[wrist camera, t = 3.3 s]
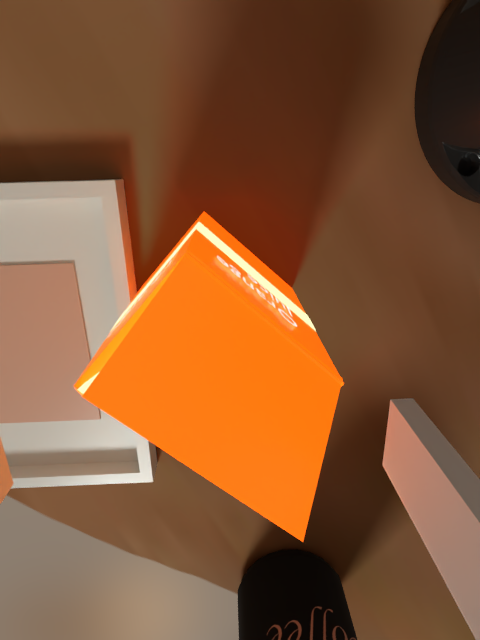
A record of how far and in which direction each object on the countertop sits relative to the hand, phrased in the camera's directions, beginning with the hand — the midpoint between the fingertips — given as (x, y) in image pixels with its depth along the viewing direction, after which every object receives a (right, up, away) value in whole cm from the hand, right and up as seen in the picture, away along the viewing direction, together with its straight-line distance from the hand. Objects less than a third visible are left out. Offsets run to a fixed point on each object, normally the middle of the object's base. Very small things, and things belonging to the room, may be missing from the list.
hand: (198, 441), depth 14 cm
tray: (-16, +2, +18) cm, 24 cm away
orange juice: (0, +7, +17) cm, 18 cm away
